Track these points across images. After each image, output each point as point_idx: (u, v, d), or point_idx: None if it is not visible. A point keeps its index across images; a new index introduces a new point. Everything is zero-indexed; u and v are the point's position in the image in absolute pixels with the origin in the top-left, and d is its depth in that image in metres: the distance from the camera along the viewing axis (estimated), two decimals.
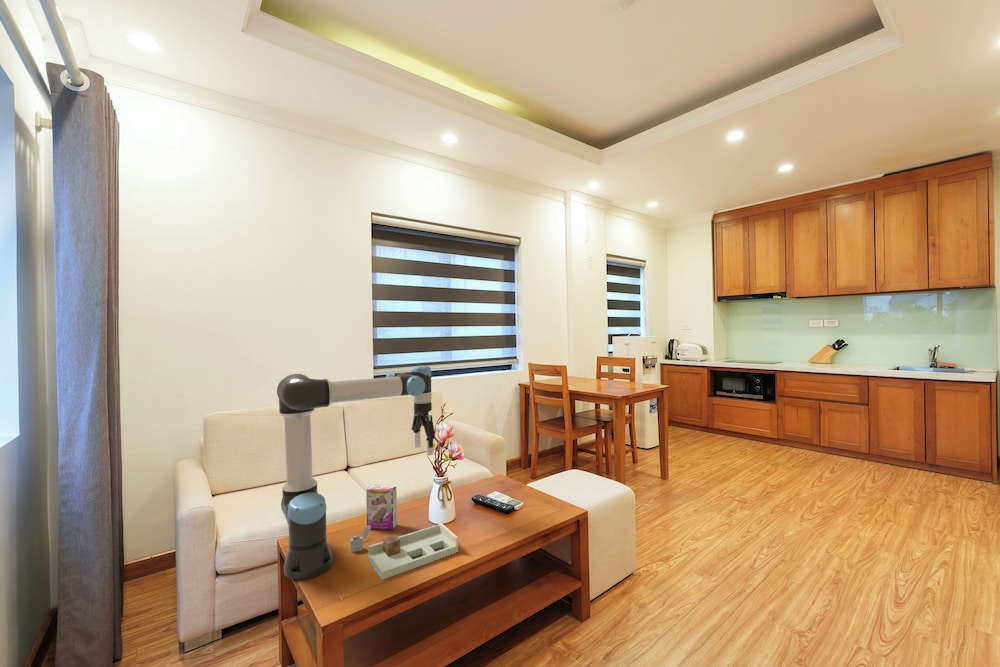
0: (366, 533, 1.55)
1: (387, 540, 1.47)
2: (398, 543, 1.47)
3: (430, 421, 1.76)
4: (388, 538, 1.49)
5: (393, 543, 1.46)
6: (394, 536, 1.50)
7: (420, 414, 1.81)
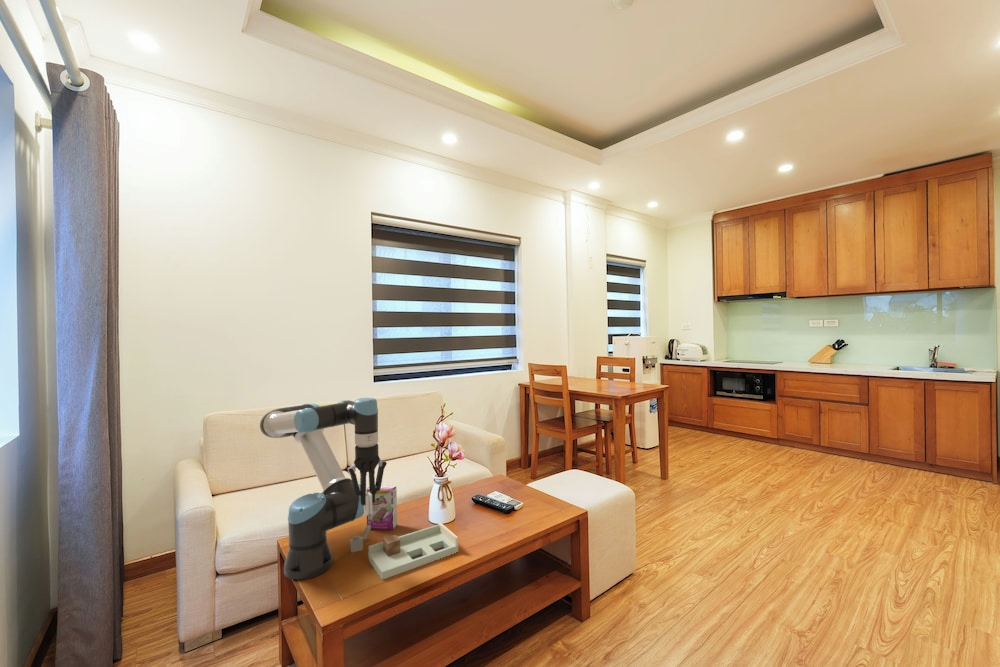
0: (366, 533, 1.55)
1: (387, 540, 1.47)
2: (398, 543, 1.47)
3: (351, 475, 1.40)
4: (388, 538, 1.49)
5: (393, 543, 1.46)
6: (394, 536, 1.50)
7: None
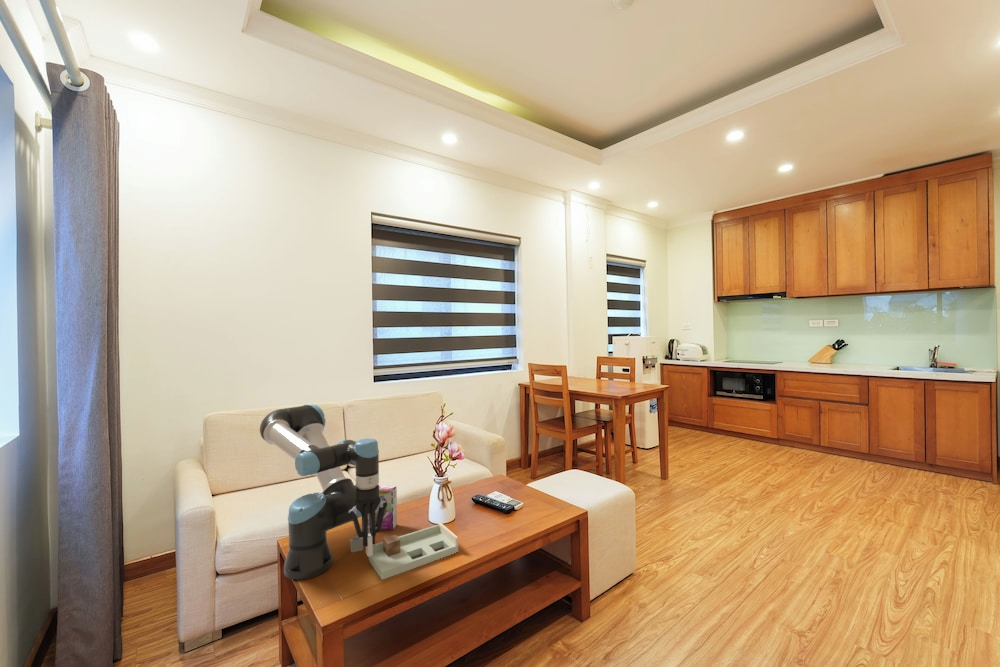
0: None
1: (387, 540, 1.47)
2: (398, 543, 1.47)
3: (352, 517, 1.40)
4: (388, 538, 1.49)
5: (393, 543, 1.46)
6: (394, 536, 1.50)
7: None
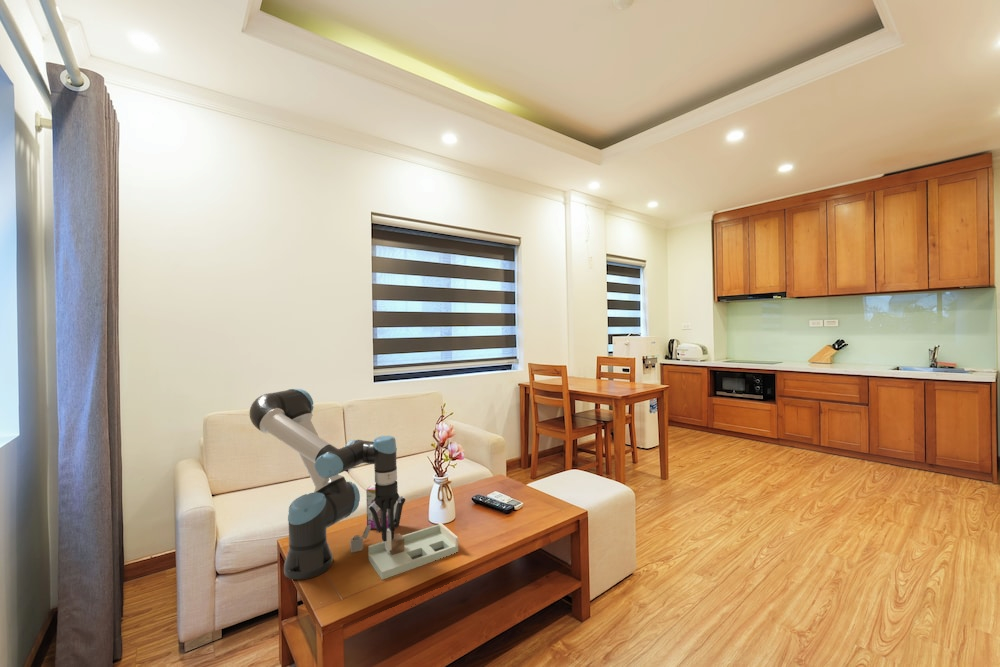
0: (366, 533, 1.55)
1: (391, 539, 1.48)
2: (402, 542, 1.48)
3: (372, 512, 1.44)
4: None
5: (397, 542, 1.47)
6: (398, 535, 1.51)
7: None
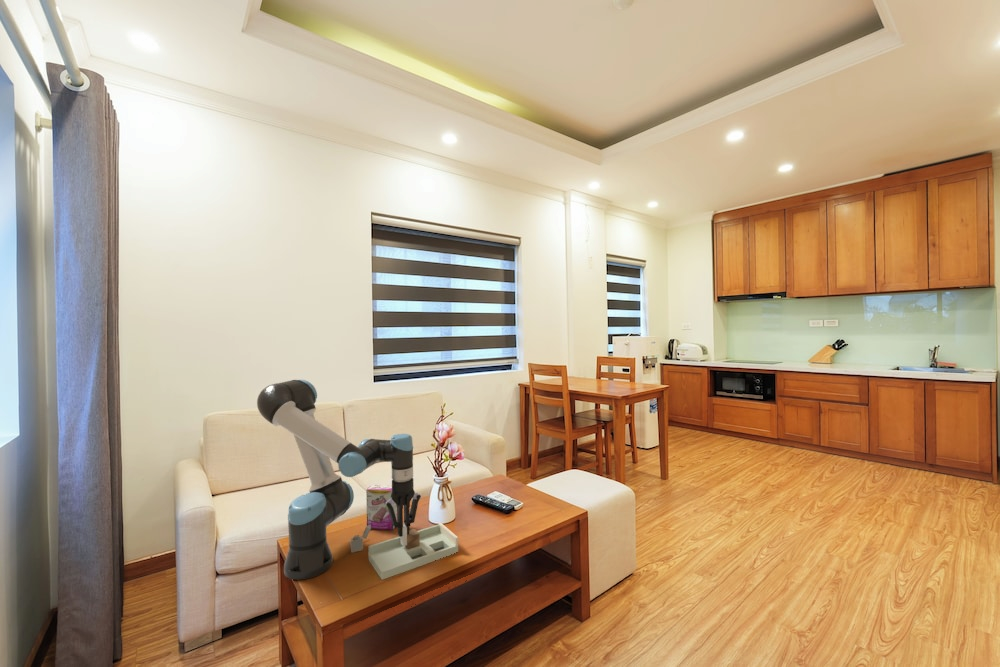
0: (366, 533, 1.55)
1: None
2: (417, 537, 1.51)
3: (389, 508, 1.47)
4: None
5: (413, 537, 1.50)
6: (413, 530, 1.54)
7: None
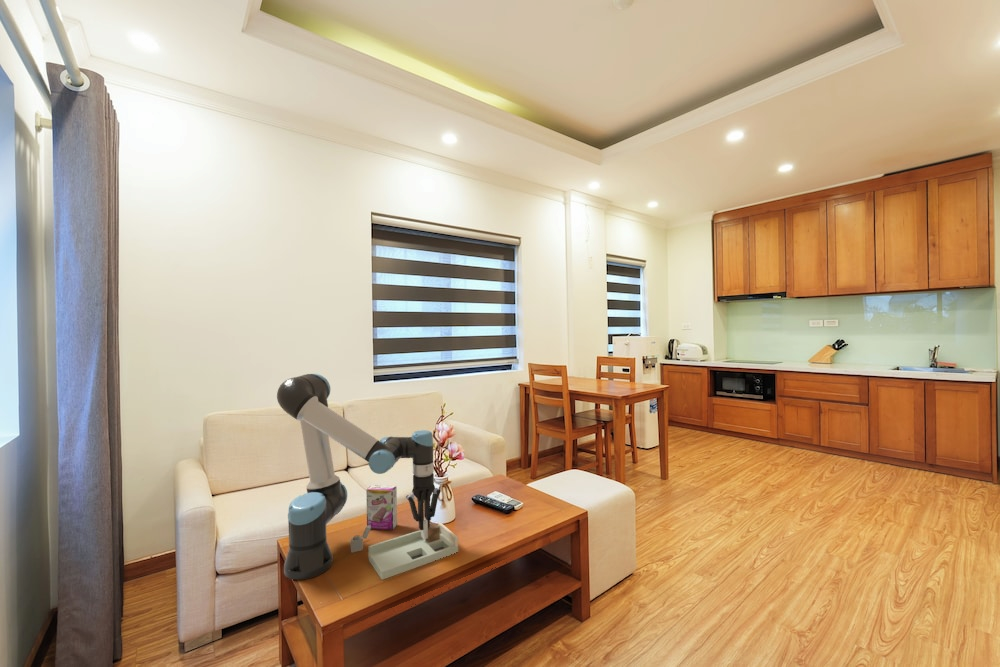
0: (366, 533, 1.55)
1: None
2: (438, 530, 1.56)
3: (410, 503, 1.52)
4: None
5: (433, 530, 1.55)
6: (433, 524, 1.59)
7: None
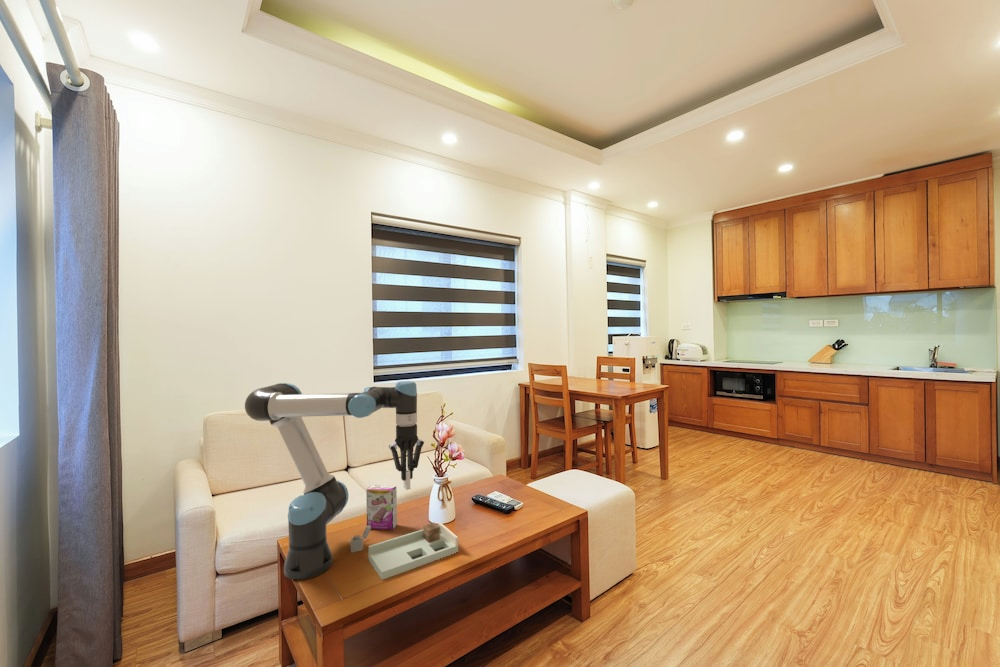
0: (366, 533, 1.55)
1: (427, 527, 1.56)
2: (438, 530, 1.56)
3: (393, 452, 1.50)
4: (428, 526, 1.57)
5: (433, 530, 1.55)
6: (433, 524, 1.59)
7: None
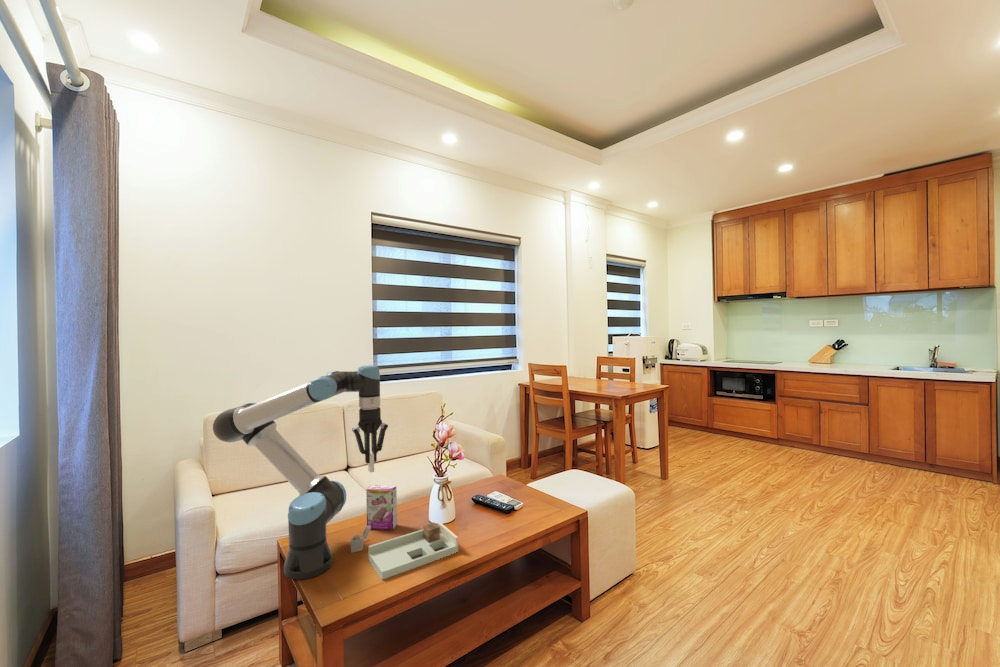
0: (366, 533, 1.55)
1: (427, 527, 1.56)
2: (438, 530, 1.56)
3: (356, 435, 1.52)
4: (428, 526, 1.57)
5: (433, 530, 1.55)
6: (433, 524, 1.59)
7: None
